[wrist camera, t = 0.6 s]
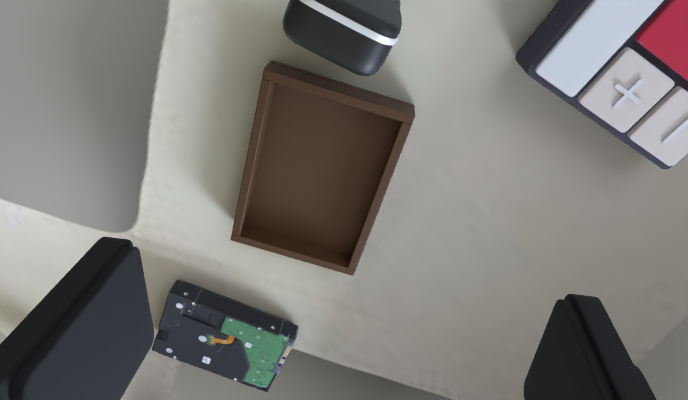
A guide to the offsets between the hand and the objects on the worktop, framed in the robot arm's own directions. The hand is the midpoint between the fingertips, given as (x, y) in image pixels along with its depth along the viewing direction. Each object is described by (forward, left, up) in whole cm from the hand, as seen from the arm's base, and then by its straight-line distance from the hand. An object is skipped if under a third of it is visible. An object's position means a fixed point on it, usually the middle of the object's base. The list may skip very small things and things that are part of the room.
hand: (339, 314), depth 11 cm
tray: (+14, -2, -32) cm, 35 cm away
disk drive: (+38, -7, -32) cm, 50 cm away
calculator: (-4, +19, -32) cm, 37 cm away
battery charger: (-1, -3, -32) cm, 32 cm away
